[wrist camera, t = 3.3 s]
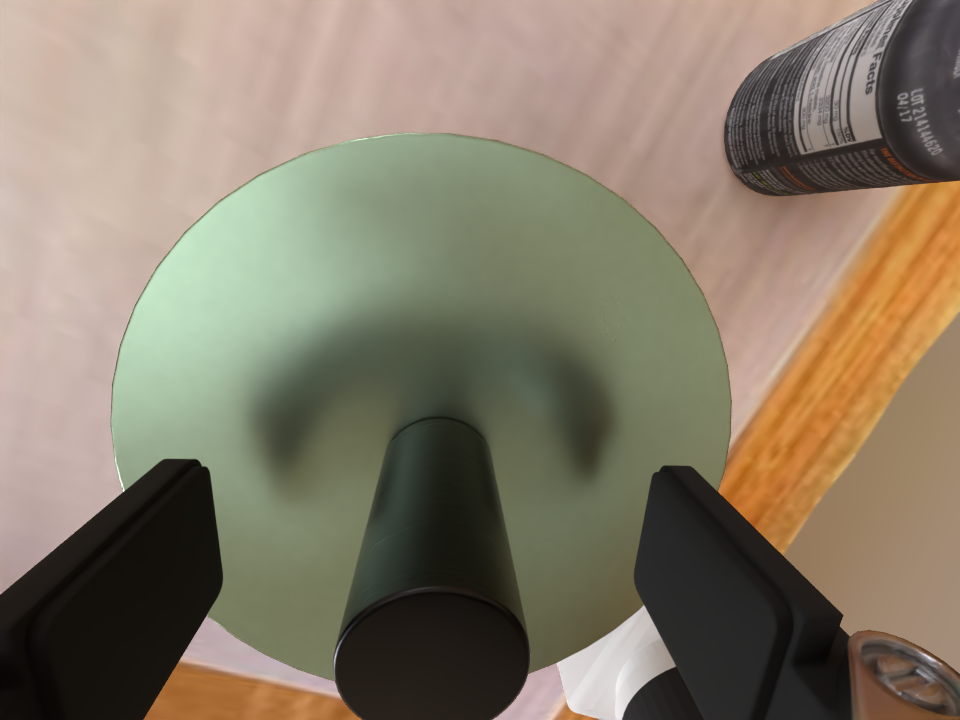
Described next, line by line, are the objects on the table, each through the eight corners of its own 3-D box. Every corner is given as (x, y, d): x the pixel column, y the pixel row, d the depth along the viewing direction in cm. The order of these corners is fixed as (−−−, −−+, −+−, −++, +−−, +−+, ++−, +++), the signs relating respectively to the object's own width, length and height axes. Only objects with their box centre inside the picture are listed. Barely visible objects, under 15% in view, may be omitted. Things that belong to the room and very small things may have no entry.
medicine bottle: (535, 590, 27) (603, 862, 15) (592, 493, 25) (716, 719, 14) (635, 622, 28) (765, 894, 17) (696, 533, 27) (886, 768, 15)
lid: (89, 114, 10) (-586, -88, 3) (764, 166, 11) (1193, 92, 5) (183, 662, 14) (-28, 1020, 8) (656, 650, 16) (803, 946, 9)
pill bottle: (871, 122, 21) (1344, 12, 10) (771, 224, 22) (1098, 226, 11) (796, 16, 19) (1256, -251, 8) (692, 131, 20) (981, 27, 9)
